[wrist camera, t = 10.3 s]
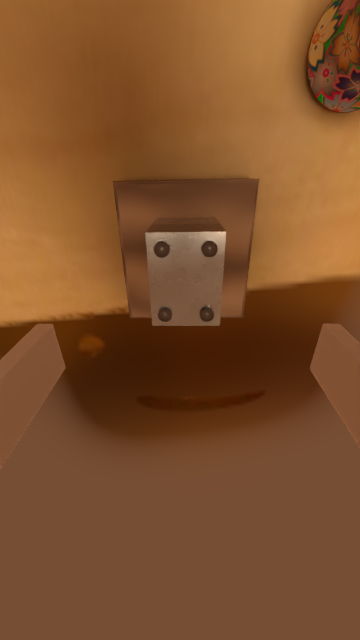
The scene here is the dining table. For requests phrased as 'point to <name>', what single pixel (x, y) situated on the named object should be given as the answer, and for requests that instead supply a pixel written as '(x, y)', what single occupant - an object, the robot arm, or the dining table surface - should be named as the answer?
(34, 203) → the dining table surface
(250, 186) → the stand
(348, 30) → the mug
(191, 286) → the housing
